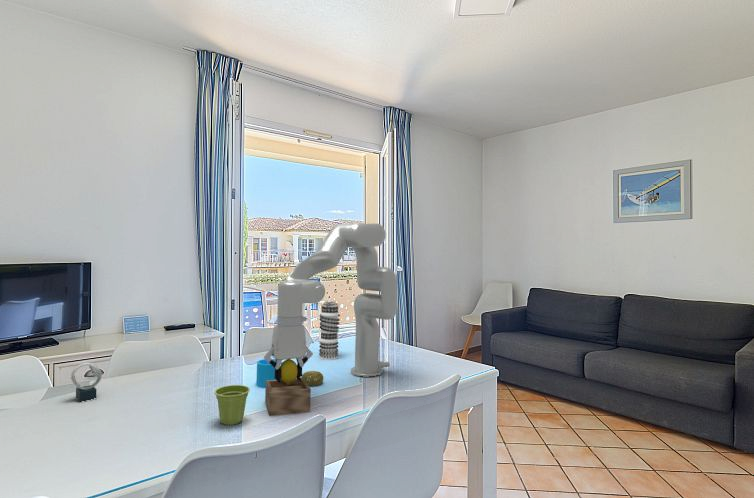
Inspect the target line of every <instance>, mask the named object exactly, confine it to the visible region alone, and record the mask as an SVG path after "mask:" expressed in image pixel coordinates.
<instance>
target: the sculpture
mask: <svg viewBox="0 0 754 498" xmlns="http://www.w3.org/2000/svg"><path fill="white" fill-rule="evenodd" d="M301 378H304V379H305V381H306V382H307V384H308V386H309V387H310V386H311V387H314V386H318V385H321V384H322V383H323V381H324V375H323V373H322V372H320V371H316V370H310V371H309V370H308V371H305V372H303V373H302V376H301Z"/></svg>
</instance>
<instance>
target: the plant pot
mask: <svg viewBox="0 0 754 498" xmlns="http://www.w3.org/2000/svg"><path fill="white" fill-rule="evenodd" d="M250 390H251V389H250V387H249V386H247V385H244V384H231V385H225V386H221V387H218V388H216V389H215V390H214V392H213V393H214V395H215V397H216V399H217V406H218V415H219V422H220V424H222V425H223V424H224V425H225V426H232V425H236V424H239V423H240V422H243V421H244V416H245V415H244V414H245V409H246V403H247V397H248V395H249V392H250Z"/></svg>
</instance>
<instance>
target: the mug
mask: <svg viewBox="0 0 754 498" xmlns="http://www.w3.org/2000/svg"><path fill="white" fill-rule="evenodd" d="M271 359H272V360H273V361H274V362H275V358H271ZM283 362H284V361H283ZM283 362H281V364H282V363H283ZM281 364H280V365H281ZM274 374H275V368H274V367H273V366H272V365H271V364H270V363H269V362H267V361H266V360H265V359H264V358H263V359H259V360H258V361H256V381H255V382H256V383H255V384H256V385H255V386H257V387H258V388H260V389H266V381H267V380H276V379H275V378H274Z"/></svg>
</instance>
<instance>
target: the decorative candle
mask: <svg viewBox="0 0 754 498" xmlns="http://www.w3.org/2000/svg"><path fill="white" fill-rule="evenodd" d="M339 306H340V305H338V303H337V302H336V301H324V302H323V303H322V304H321V311H320V314H319V319H318V320H319V321H320V322H319V329H320V330H319V332H320V340H319V344H320V345H319V349H318V351H319V353H318V355H319V356H318V357H319V359H320V360H324V361H326V360H327V361H333V360H337V359H338V358H339V357H338V355H339V353H338V352H339V349H338V348H339V341H338V340H339V338H338V333H339V332H340V331H339V328H340V327H339V325H340V322H339V321H340V318H339V317H341V314H339Z"/></svg>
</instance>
